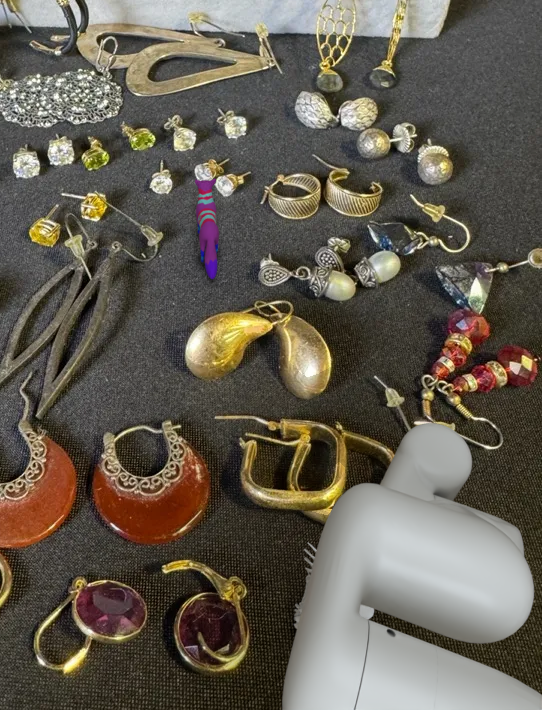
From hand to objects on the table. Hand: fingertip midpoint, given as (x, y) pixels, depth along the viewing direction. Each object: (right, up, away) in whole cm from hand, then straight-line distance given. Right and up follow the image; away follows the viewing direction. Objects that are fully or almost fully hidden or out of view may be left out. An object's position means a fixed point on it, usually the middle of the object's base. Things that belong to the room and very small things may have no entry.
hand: (379, 553), depth 108 cm
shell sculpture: (-9, -7, -5) cm, 13 cm away
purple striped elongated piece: (-21, +41, +36) cm, 58 cm away
